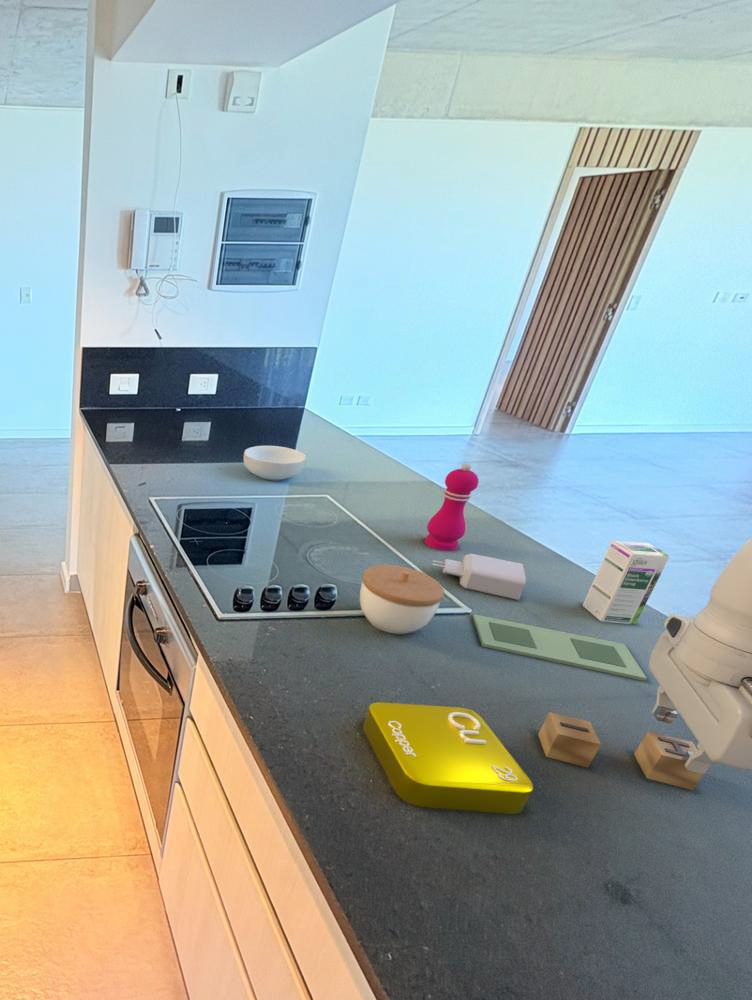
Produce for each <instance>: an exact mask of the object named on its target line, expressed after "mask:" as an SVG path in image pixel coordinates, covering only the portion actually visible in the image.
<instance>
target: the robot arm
mask: <svg viewBox="0 0 752 1000" xmlns="http://www.w3.org/2000/svg"><path fill="white" fill-rule="evenodd" d="M663 626H664V628H665V630H663V632H662V633H661V634H660V636H659V637H658V639H657V641H656V643H655V644H654V647H653V649H652V651H651V654H650V656H649V658H648V659H649V661H648V669H649V671H650V672H651V674H652V675H653V677H654V678H655V679H656V681H657V683H658V684H659V686H658V687H657V692H656V700H655V701H656V703H655V705H654V707H653V708H652V710H651V714H652V715H653V716H654V718H655V720H656V721H658V722H663V723H666V724H673V722H674V721H675V719H676V718H677V716H678V714H679V716H680V717H681V718H682V720H683V721H684V723H685V724H686V726H687V727H688V728H689V730H690V731H691V733H692V735H693V736H694V737H695V739H696V741H697V742H698V743H697V745H696V748H697V750H698V751H696V752H694V753H693V752H689V751H687V752H686V753H685V755H684V757H683V758H682V762H683V763H684V765H685V767H686V769H688V770H689V771H693V772H697V773H704V774H705V773H706V772H707V770H708V769H709V768H710V766H711V765H714V764H719V765H722V766H725V767H730V768H732V769H733V768H734V769H737V770H743V771H752V536H750V537H749V538H748V539H747V540H746V541H745V542H744V543H743V544H742V545H741V546H740V547H739V549H737V551H736V552H735V553H734V555H732V557H731V558H730V560H729V561H728V562H727V564H726V565H725V566H724V568H723V569H722V571H721V572H720V574H719V575H718V577H717V578H716V580H715V581H714V584H713V585H712V586H711V589H710V592H709V600H708V602H707V604H706V605H705V607H704V608H703V609H701V610H700V611H699V612H698V613H697V614H695V616H689V615H684V614H676V613H670V614H669V615H668V616H667V617H666V619H665V622H664V625H663Z"/></svg>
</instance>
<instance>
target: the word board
mask: <svg viewBox="0 0 752 1000" xmlns="http://www.w3.org/2000/svg"><path fill="white" fill-rule="evenodd" d="M472 619H473V622H474V625H475V629H476V631H477V635H478V639H479V641H480V644H481V647H482V648H488V649H493V650H497V651H501V652H502V651H503V652H507V653H512V654H517V655H521V656H525V657H530V658H535V659H539V660H544V661H549V662H553V663H559V664H563V665H566V666H572V667H577V668H581V669H587V670H591V671H596V672H600V673H604V674H611V675H615V676H620V677H624V678H627V679H628V678H629V679H632V680H633V679H634V680H638V681H642V682H646V680H647V675H645V673H644V671H643V670H642V668H641V667H640V666H639V664H638V662H637V661H636V659H635V657H634V656H633V655H632V654H631V652H630V650H629V649H628V647H627V646H626V644H625V643H621V642H616V641H612V640H607V639H603V638H602V639H601V638H596V637H591V636H586V635H581V634H576V633H570V632H565V631H561V630H556V629H551V628H545V627H540V626H535V625H530V624H526V623H520V622H516V621H511V620H504V619H500V618H495V617H490V616H484V615H480V614H476V613H475V614H473V615H472Z"/></svg>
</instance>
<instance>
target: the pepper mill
mask: <svg viewBox="0 0 752 1000" xmlns="http://www.w3.org/2000/svg"><path fill="white" fill-rule="evenodd" d="M471 469H472V464H470V462H469V463H468V462H464V463H463V464H462V465H461V467H460V468H457V469H454V470H451V471H450V472H448V474H447V475H446V476H445V479H444V484H445V486H446V488H445V489H444V492H443V494H442V495H443V496H444V499H443V502H442V505H441V506H440V508H439V510H437V512H436V513H435V514H433V516H432V517H431V518H430V519H429V521H428V523H427V525H426V530H427V532H428V534H427V535H426V537H425V540H424V544H426V545H427V546H428V547H430V548H431V549H436V550H438V551H442V552H443V551H445V552H453V551H456V550H457V549H458V546H459V540H460V539H462V538H463V537H464V536H465V534H466V521H465V515H464V510H465V506H466V504H467V502H468V501H470V500H471V496H472V492H473V491H475V490H476V489H477V488H478V486H479V476H478V474H476V473H475V472H474V471H472V470H471Z"/></svg>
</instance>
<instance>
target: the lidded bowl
mask: <svg viewBox="0 0 752 1000" xmlns="http://www.w3.org/2000/svg"><path fill="white" fill-rule="evenodd" d="M444 594H445V589H444V587H443V585H442V584H441V583H440V582H439V581H438V580H436V579H435V578H433V577H432V576H430V575H429V574H427V573H424V572H423V571H419V570H417V569H413V568H410V567H406V566H401V565H394V564H379V565H373V566H370V567H368V568H366V570H364V572H363V574H362V579H361V585H360V589H359V605H360V609H361V612H362V614H363V615H364V617H365V618H366V619H367V620H368V621H369V623H370V624H371V625H373V626H374V627H375V628H377V629H379V630H381V631H384V632H386V633H388V634H389V633H390V634H393V635H394V634H395V635H406V634H410V633H414V632H416V631H419V630H421V629H422V628H424V627H426V626H427V625H428V624H430V622H431V621H432V619H433V618H434V617H435V615H436V613H437V611H438V609H439V607H440V604H441V601H442V600H443V599H444Z"/></svg>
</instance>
